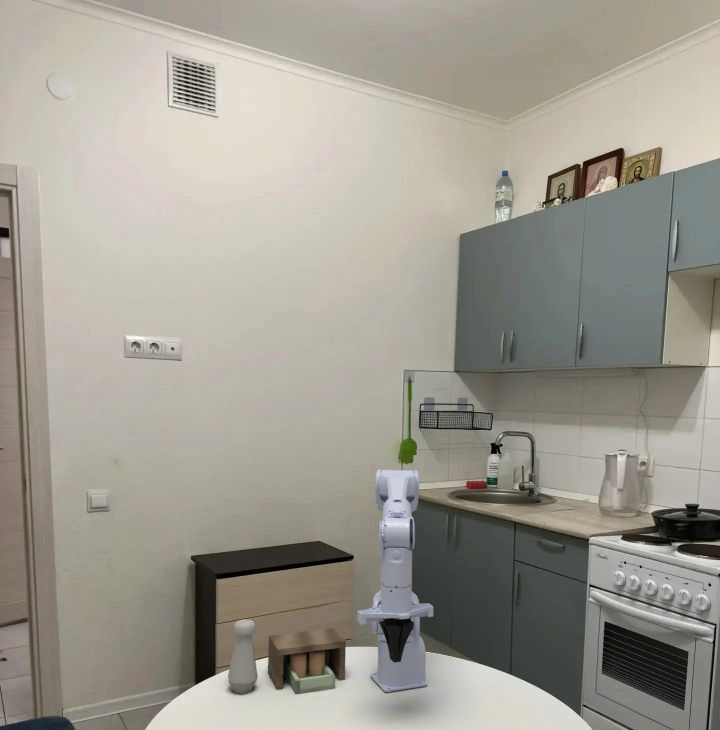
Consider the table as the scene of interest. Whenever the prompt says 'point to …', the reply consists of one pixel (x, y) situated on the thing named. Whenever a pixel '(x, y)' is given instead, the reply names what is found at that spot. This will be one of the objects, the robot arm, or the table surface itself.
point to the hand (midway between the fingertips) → (395, 660)
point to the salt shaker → (243, 658)
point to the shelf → (306, 643)
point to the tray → (310, 680)
